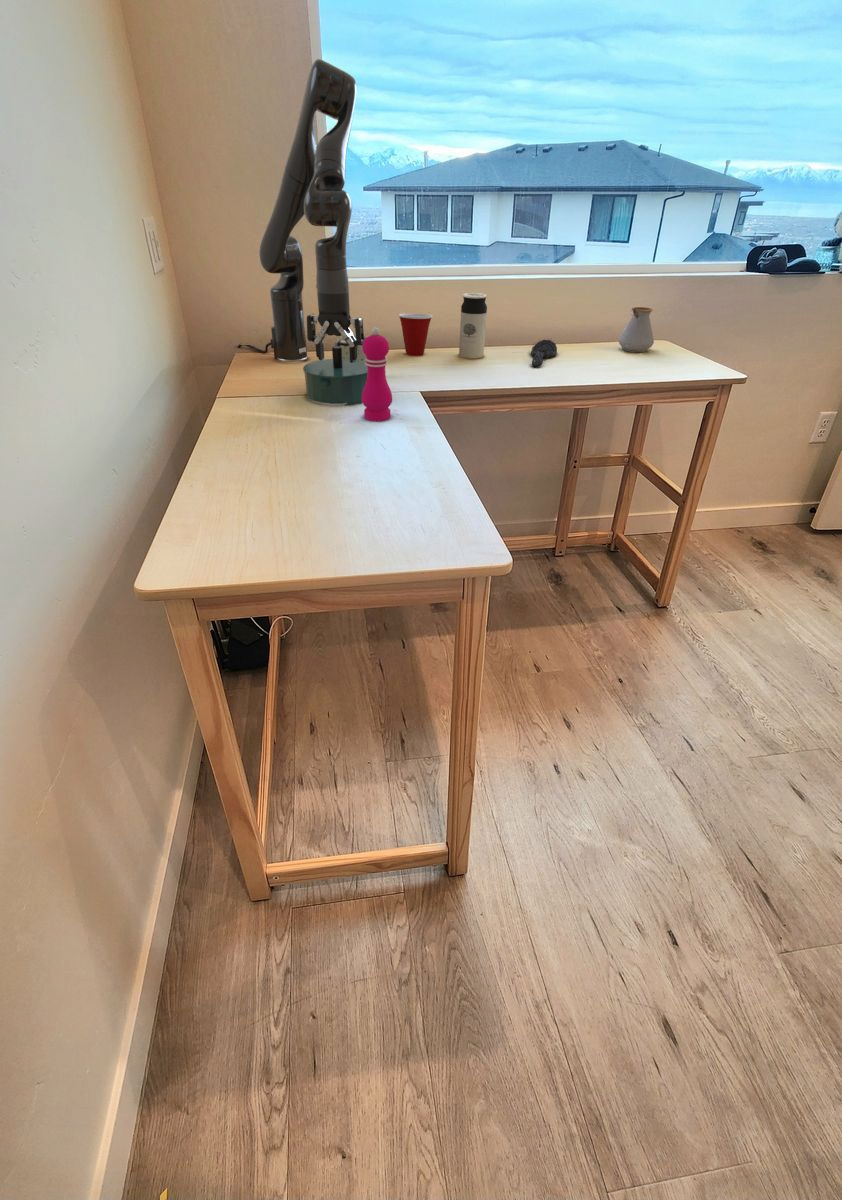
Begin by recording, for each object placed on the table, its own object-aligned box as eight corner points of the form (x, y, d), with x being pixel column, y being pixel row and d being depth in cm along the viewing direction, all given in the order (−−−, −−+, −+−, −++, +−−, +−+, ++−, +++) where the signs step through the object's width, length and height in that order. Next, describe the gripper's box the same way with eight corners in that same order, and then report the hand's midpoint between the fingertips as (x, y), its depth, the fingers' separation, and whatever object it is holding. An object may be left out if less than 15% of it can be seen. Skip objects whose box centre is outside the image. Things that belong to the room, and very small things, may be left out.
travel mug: (467, 352, 203) (470, 291, 193) (488, 355, 200) (492, 294, 189) (454, 356, 198) (456, 294, 188) (475, 360, 194) (479, 297, 184)
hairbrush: (523, 356, 188) (535, 335, 207) (521, 369, 190) (534, 347, 209) (550, 359, 186) (560, 338, 205) (548, 371, 188) (558, 349, 207)
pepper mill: (396, 414, 149) (396, 325, 138) (385, 423, 144) (384, 332, 132) (369, 411, 151) (366, 323, 140) (357, 419, 146) (353, 329, 134)
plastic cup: (434, 351, 204) (436, 311, 197) (427, 359, 195) (428, 318, 188) (403, 349, 206) (403, 309, 199) (394, 356, 197) (394, 315, 190)
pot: (291, 405, 154) (289, 377, 150) (326, 382, 172) (324, 356, 168) (354, 411, 151) (352, 383, 147) (382, 387, 168) (382, 361, 164)
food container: (382, 373, 180) (381, 336, 174) (379, 378, 175) (378, 341, 169) (340, 371, 181) (338, 335, 175) (336, 377, 176) (334, 339, 170)
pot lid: (291, 377, 152) (289, 352, 149) (320, 360, 166) (318, 337, 163) (358, 383, 149) (357, 358, 145) (381, 366, 163) (381, 342, 159)
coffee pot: (621, 344, 217) (630, 297, 208) (654, 348, 212) (665, 300, 204) (606, 357, 201) (615, 307, 192) (642, 361, 197) (652, 310, 188)
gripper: (366, 289, 148) (368, 359, 157) (311, 285, 151) (316, 355, 161) (355, 294, 142) (358, 366, 152) (298, 290, 145) (304, 361, 155)
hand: (337, 360), depth 156 cm, fingers open, 8 cm apart
